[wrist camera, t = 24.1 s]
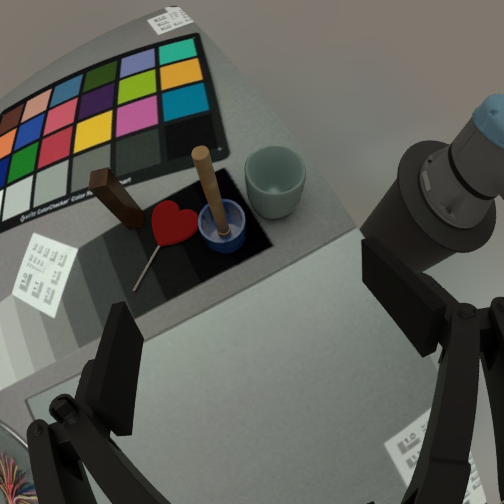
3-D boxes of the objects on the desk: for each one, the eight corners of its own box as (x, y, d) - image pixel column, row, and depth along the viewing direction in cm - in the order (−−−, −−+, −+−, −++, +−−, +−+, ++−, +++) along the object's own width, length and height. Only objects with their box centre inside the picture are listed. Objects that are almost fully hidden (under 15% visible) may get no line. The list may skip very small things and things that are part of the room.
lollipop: (156, 304, 44) (205, 217, 48) (154, 303, 43) (204, 215, 47) (115, 279, 45) (163, 198, 49) (112, 277, 44) (161, 195, 48)
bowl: (244, 210, 48) (242, 195, 43) (249, 251, 46) (247, 239, 41) (202, 216, 48) (196, 201, 43) (205, 256, 46) (199, 245, 41)
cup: (257, 232, 47) (256, 203, 37) (241, 189, 49) (236, 153, 40) (305, 217, 47) (315, 185, 38) (287, 175, 50) (292, 137, 40)
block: (143, 212, 49) (108, 167, 35) (143, 227, 48) (106, 184, 34) (129, 214, 49) (90, 171, 35) (128, 229, 48) (88, 188, 34)
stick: (230, 224, 47) (210, 142, 27) (231, 237, 46) (211, 159, 27) (216, 226, 47) (189, 145, 27) (218, 238, 46) (189, 163, 27)
